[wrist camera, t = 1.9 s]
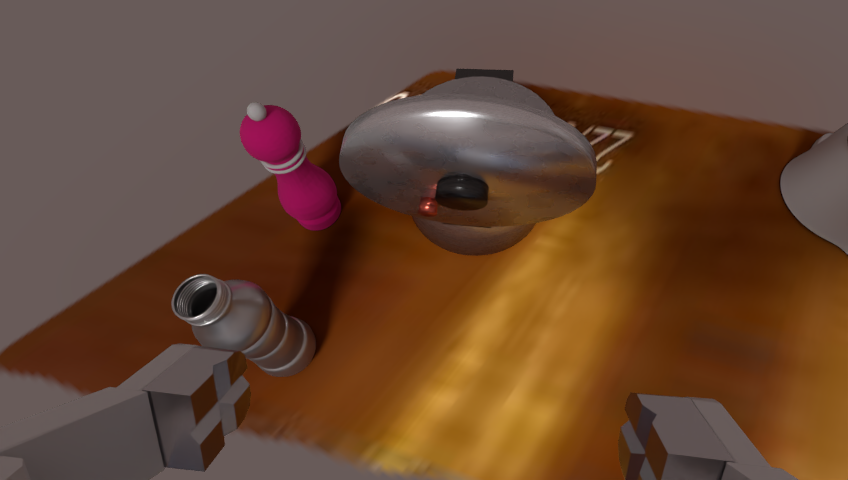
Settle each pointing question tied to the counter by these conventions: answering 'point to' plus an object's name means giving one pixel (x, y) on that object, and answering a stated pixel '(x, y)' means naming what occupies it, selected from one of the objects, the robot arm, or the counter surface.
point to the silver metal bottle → (244, 323)
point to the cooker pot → (480, 237)
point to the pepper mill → (290, 166)
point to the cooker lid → (468, 160)
